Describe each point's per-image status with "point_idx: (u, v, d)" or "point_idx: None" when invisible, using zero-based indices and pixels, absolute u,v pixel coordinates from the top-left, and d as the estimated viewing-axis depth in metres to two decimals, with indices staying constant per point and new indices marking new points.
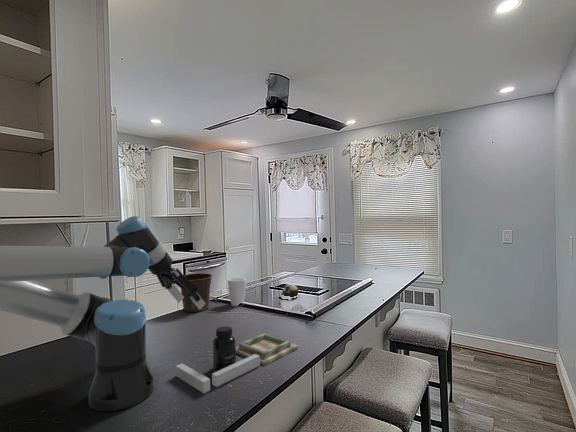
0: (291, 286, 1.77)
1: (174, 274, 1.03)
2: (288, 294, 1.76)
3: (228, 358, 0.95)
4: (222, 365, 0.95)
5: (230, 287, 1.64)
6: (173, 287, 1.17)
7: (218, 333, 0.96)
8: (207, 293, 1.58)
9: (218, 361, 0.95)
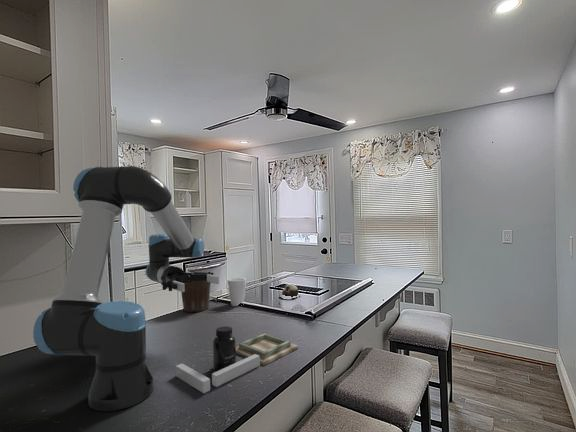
0: (291, 286, 1.77)
1: None
2: (288, 294, 1.76)
3: (228, 358, 0.95)
4: (222, 365, 0.95)
5: (230, 287, 1.64)
6: None
7: (218, 333, 0.96)
8: (207, 293, 1.58)
9: (218, 361, 0.95)
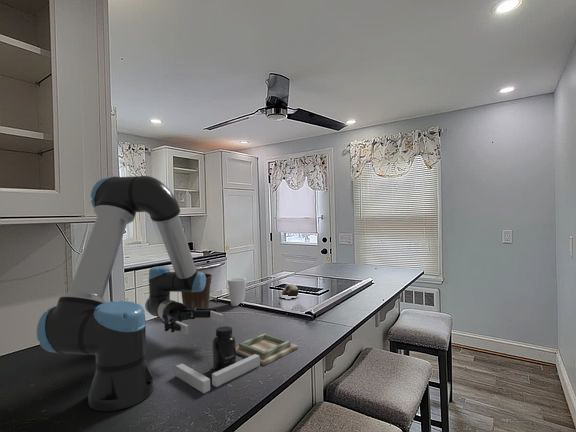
0: (291, 286, 1.77)
1: None
2: (288, 294, 1.77)
3: (228, 358, 0.95)
4: (222, 365, 0.95)
5: (230, 287, 1.64)
6: None
7: (218, 333, 0.96)
8: (207, 293, 1.58)
9: (218, 361, 0.95)
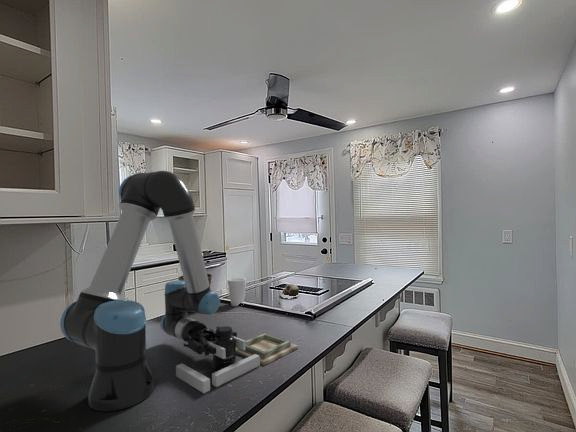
0: (292, 285, 1.78)
1: None
2: (289, 293, 1.78)
3: (228, 358, 0.95)
4: (222, 365, 0.95)
5: (230, 287, 1.64)
6: None
7: (218, 333, 0.96)
8: None
9: (218, 361, 0.95)
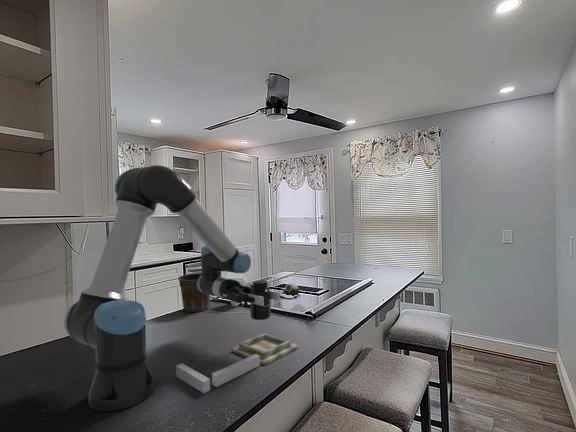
0: (292, 285, 1.79)
1: None
2: (289, 293, 1.78)
3: (265, 307, 1.07)
4: (260, 313, 1.06)
5: None
6: None
7: (255, 285, 1.08)
8: None
9: (256, 309, 1.07)
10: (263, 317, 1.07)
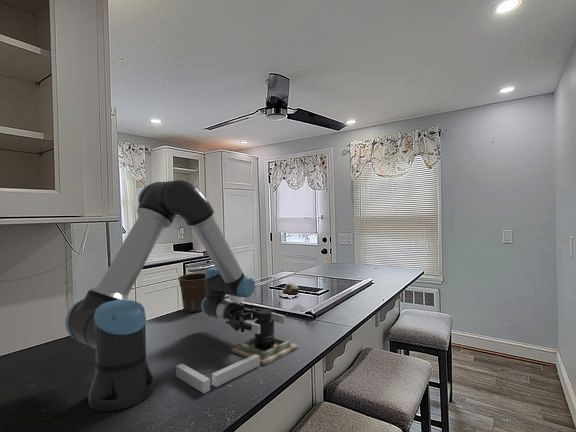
0: (292, 285, 1.80)
1: None
2: (289, 293, 1.79)
3: (269, 338, 1.08)
4: (264, 344, 1.07)
5: None
6: None
7: (259, 315, 1.09)
8: None
9: (260, 340, 1.08)
10: (267, 348, 1.08)
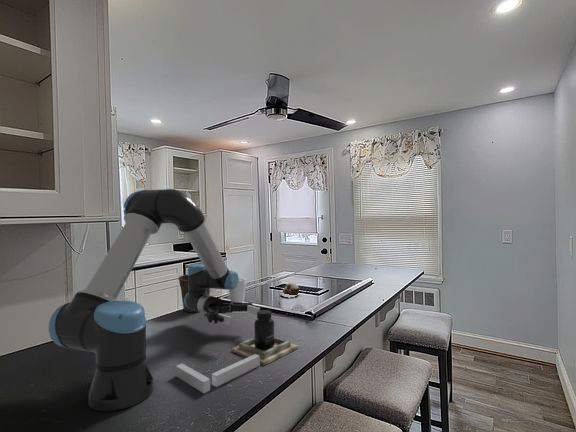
0: (292, 284, 1.80)
1: None
2: (289, 292, 1.80)
3: (269, 338, 1.08)
4: (264, 344, 1.07)
5: None
6: None
7: (259, 315, 1.09)
8: (207, 293, 1.58)
9: (260, 340, 1.08)
10: (267, 348, 1.08)
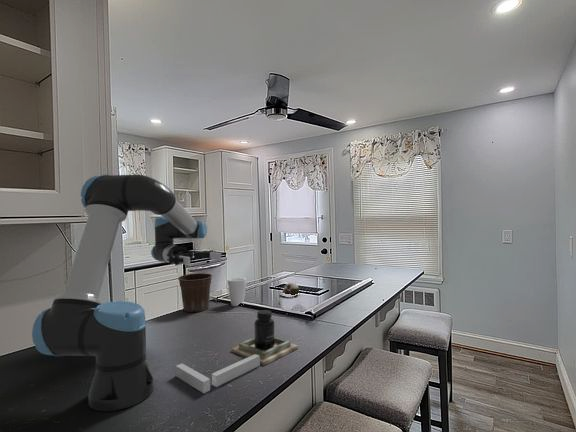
0: (292, 284, 1.81)
1: None
2: (289, 292, 1.80)
3: (269, 338, 1.08)
4: (264, 344, 1.07)
5: (230, 287, 1.64)
6: None
7: (260, 315, 1.09)
8: (207, 293, 1.58)
9: (260, 340, 1.08)
10: (267, 348, 1.08)
